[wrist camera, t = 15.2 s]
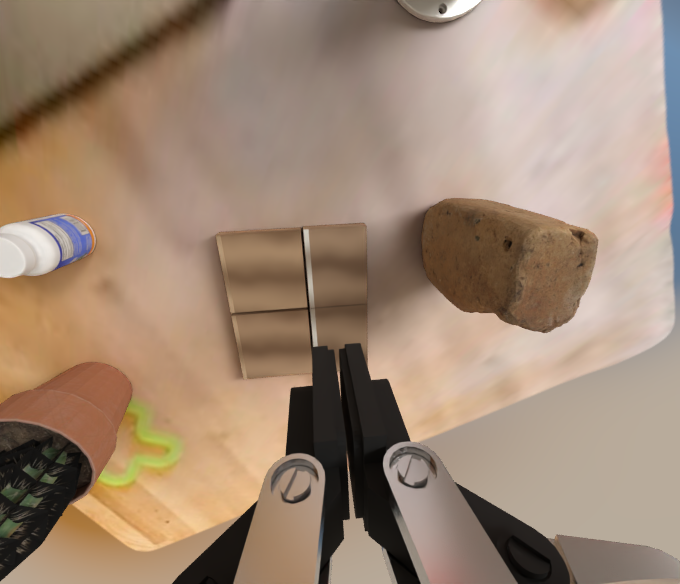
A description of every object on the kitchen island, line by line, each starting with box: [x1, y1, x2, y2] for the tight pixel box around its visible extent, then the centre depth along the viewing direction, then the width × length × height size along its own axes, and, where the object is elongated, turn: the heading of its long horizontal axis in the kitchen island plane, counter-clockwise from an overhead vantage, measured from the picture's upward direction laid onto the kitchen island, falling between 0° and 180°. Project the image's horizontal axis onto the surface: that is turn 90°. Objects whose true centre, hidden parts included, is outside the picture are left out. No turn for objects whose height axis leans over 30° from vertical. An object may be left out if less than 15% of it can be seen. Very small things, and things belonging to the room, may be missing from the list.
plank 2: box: [231, 304, 312, 379], centre depth 44 cm, size 10×10×2 cm
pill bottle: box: [0, 214, 96, 278], centre depth 33 cm, size 5×5×10 cm
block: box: [421, 198, 598, 333], centre depth 33 cm, size 11×8×20 cm
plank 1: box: [216, 228, 307, 313], centre depth 40 cm, size 10×10×2 cm
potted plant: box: [0, 362, 132, 581], centre depth 34 cm, size 14×14×25 cm
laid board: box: [303, 223, 368, 371], centre depth 43 cm, size 21×8×2 cm, turn 2°
